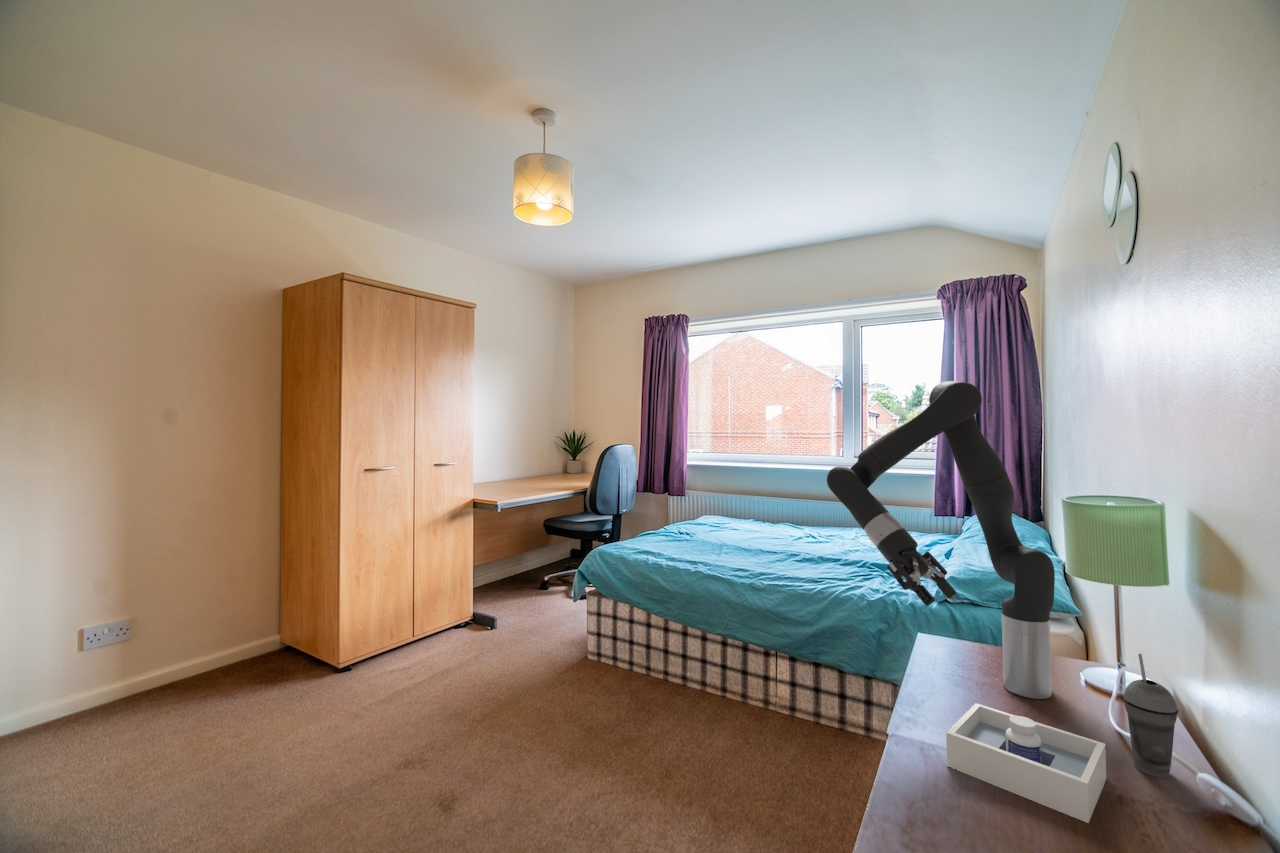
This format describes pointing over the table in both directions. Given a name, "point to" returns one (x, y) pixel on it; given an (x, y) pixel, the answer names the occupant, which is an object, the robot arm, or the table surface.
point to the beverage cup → (1150, 724)
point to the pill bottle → (1023, 739)
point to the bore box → (1030, 762)
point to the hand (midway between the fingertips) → (942, 599)
